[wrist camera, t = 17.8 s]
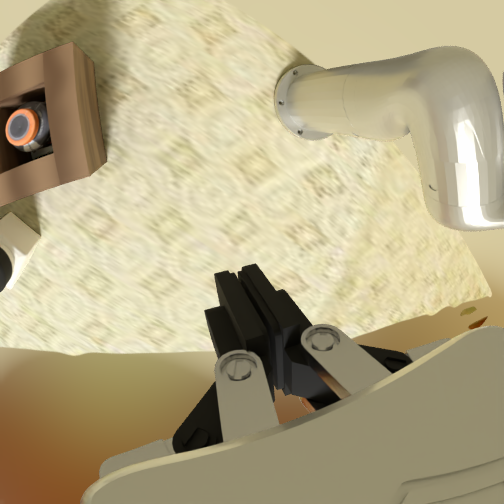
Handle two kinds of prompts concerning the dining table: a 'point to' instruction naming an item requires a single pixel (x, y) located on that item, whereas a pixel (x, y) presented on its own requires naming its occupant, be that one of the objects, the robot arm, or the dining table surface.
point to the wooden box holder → (51, 121)
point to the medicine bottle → (15, 248)
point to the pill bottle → (29, 127)
